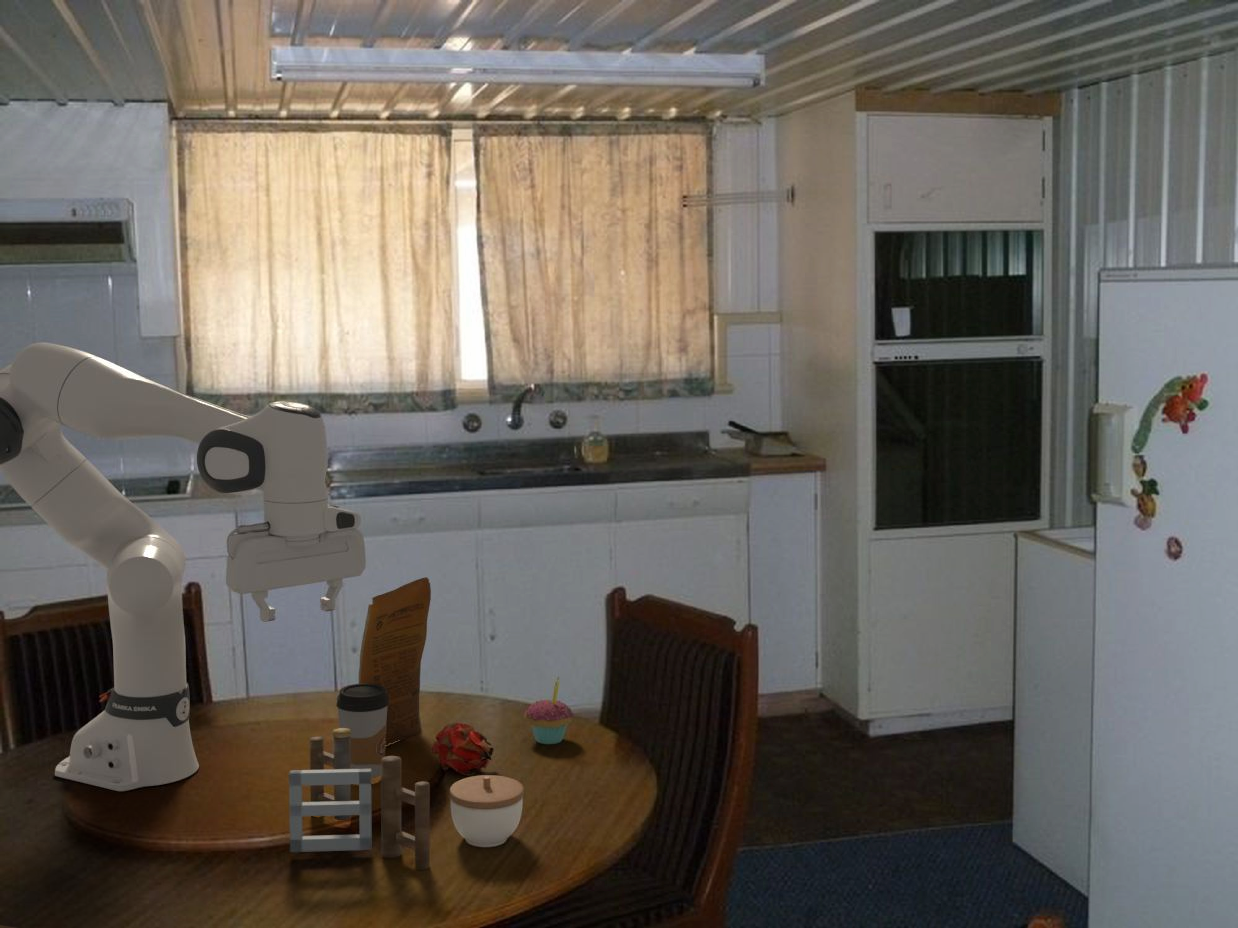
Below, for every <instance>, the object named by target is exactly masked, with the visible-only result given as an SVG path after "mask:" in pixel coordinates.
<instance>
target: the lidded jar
mask: <svg viewBox="0 0 1238 928" xmlns="http://www.w3.org/2000/svg"><path fill="white" fill-rule="evenodd" d="M524 791H525V789H524V785H523V784H522V783H521V782H519V780H516V779H514V778H511V777H508V776H502V775H493V774H491V775H490V774H482V775H472V776H468V777H465V778H462V779H460V780H459V779H458V781H455V782H454V783H453V784H452V785H451V786H450V788H449V798H450V813H451V817H452V818H451V819H452V822H453V825H454V826H455V830H456V831H457V832H458V834H459V835H461V837H462V838H464V839H465V842H466V843H467V844H468V845H470V846H473V847H478V848H492V847H497V846H498V847H499V846H501V845H503V844H504V843H506V842H508V841H507V840H508V838H510V836H512V834H513V833H515V831H516V829H517V828H518V826H519V824H520V821H521V817H522V812H523V811H522V810H523V802H524V801H523V800H524V799H523V798H524Z"/></svg>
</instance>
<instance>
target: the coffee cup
mask: <svg viewBox="0 0 1238 928" xmlns="http://www.w3.org/2000/svg"><path fill="white" fill-rule="evenodd" d="M388 704H389V701H388V694H387V693H386V691H385V688H384V687H383V686H381V685H377V684H368V683H363V684H359V683H353V684H350V685H346V686H343V687H341V688H340V689H339V694H338V695H337V698H336V707H337V712H338V713H337V714H338V728H348V729H350V730H351V735H350V769H371V779H372V778H376V777H378V776H380V775H381V759H382V758H384V757H386V747H385V745H386V730H387V725H386V721H387V705H388Z"/></svg>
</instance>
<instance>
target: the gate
mask: <svg viewBox="0 0 1238 928" xmlns="http://www.w3.org/2000/svg"><path fill="white" fill-rule="evenodd" d="M288 778H289V779H288V786H289V787H288V789H289V791H288V795H289V796H288V797H289V798H288V799H289V807H288V808H289V847H290V848H289V852H290V853H301V852H302V853H304V852H306V853H307V852H309V853H310V852H334V851H336V852H338V851H369V850H370V851H371V850H372V846H373V845H372V844H373V841H372V840H373V839H372V838H373V834H372V833H373V832H372V831H373V830H372V827H373V826H372V816H373V815H372V811H373V810H372V807H373V806H372V785H371V769H334V768H333V769H324V770H310V769H297V770H296V769H295V770H293V769H291V770H289V773H288ZM350 784H359V786H358V788H359V789H358V791H359V792H358V797H359V798H358V799H359V800H351V801H330V802H311V801H303V786H310V785H324V786H334V785H350ZM337 815H351V816H359V821H358V822H359V834H331V835H329V834H328V835H303V817H311V816H322V817H325V816H326V817H330V816H331V817H332V816H333V817H334V816H337Z"/></svg>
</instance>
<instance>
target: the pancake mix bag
mask: <svg viewBox="0 0 1238 928" xmlns="http://www.w3.org/2000/svg"><path fill="white" fill-rule="evenodd" d="M431 595H432V589H431V583H430V579H429V578H428V577H427V576H426V577H425V576H424V577H422V578H418V579H415V580H413V581H411V582H408V583H406V584H405V583H404V584H403V585H401V586H399V587H398V588H396V589H393V590H390V591H387V592H385V593H382V594H377V595H375V596H374V597H371V599H372V600H371V601H372V603H371V604H368V607H367V615H366V618H365V624H364V630H363V634H362V640H361V645H360V650H359V651H360V654H359V669H358V684H363V683H368V684H377V685H381V686H383V687H384V688H385V691H386V693H387V694H388V701H389V704H388V705H387V721H386V725H387V730H386V745H388V744H389V743H393V742H395V741H398V740H401V741H403V740H402V739H404V738H406V739H408V738H410V737H412V736H416V735H418V734H420V733H421V732H422V723H421V717H420V693H421V692H420V691H421V689H420V688H421V667H422V665H421V663H422V657H423V654H424V649H425V645H426V640H427V633H428V618H429V617H428V616H429V610H430V605H431V600H432V598H431V597H432V596H431ZM404 740H405V739H404Z"/></svg>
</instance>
